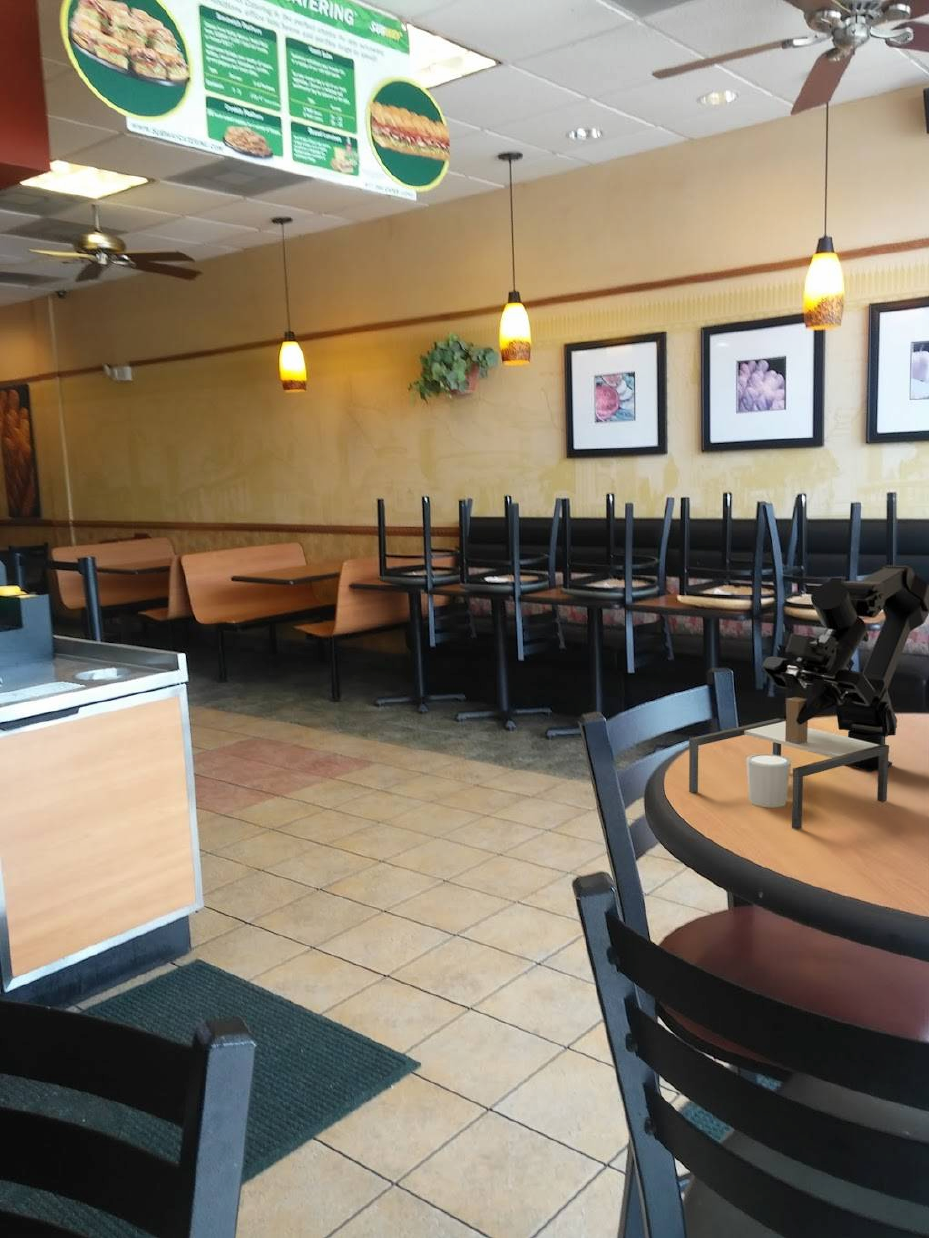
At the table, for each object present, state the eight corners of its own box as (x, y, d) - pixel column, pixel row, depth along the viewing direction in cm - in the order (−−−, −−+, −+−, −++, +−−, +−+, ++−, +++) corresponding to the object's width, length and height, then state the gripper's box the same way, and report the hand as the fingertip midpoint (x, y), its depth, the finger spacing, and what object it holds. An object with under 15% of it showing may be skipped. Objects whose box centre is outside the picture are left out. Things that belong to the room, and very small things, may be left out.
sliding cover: (783, 724, 176) (784, 682, 174) (881, 749, 160) (882, 702, 158) (744, 734, 170) (744, 690, 169) (840, 760, 154) (842, 711, 153)
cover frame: (776, 768, 178) (777, 718, 177) (887, 800, 160) (889, 745, 158) (688, 791, 167) (689, 738, 165) (796, 829, 148) (798, 770, 147)
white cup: (792, 809, 157) (793, 766, 156) (747, 807, 158) (747, 764, 157) (787, 795, 163) (788, 753, 162) (744, 793, 165) (744, 752, 164)
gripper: (769, 609, 170) (722, 681, 166) (865, 621, 154) (816, 702, 150) (799, 649, 175) (754, 720, 171) (895, 665, 160) (848, 744, 155)
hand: (790, 721), depth 162 cm, fingers closed on sliding cover, 2 cm apart
